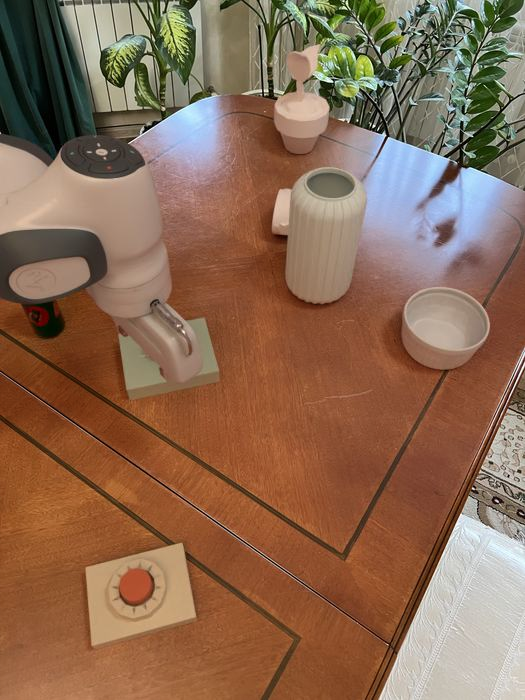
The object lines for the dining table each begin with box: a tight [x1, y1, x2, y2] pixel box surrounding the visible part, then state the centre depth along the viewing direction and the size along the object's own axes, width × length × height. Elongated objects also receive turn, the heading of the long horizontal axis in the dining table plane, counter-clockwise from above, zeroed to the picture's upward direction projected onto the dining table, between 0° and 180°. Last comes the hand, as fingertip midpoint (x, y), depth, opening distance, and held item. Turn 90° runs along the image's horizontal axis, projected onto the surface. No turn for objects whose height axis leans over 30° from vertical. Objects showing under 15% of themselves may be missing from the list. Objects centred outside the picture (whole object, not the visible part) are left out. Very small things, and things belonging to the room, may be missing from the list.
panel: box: [117, 317, 221, 402], centre depth 90 cm, size 14×11×3 cm
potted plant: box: [273, 41, 330, 155], centre depth 118 cm, size 13×12×25 cm
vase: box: [284, 166, 368, 305], centre depth 93 cm, size 12×12×22 cm
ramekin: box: [401, 286, 491, 371], centre depth 92 cm, size 13×13×7 cm
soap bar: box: [271, 187, 292, 236], centre depth 108 cm, size 12×9×8 cm
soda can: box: [20, 300, 66, 339], centre depth 90 cm, size 5×5×12 cm
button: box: [119, 568, 153, 604], centre depth 66 cm, size 4×4×2 cm
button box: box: [85, 542, 198, 650], centre depth 68 cm, size 12×9×4 cm
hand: (147, 353), depth 74 cm, fingers open, 8 cm apart
